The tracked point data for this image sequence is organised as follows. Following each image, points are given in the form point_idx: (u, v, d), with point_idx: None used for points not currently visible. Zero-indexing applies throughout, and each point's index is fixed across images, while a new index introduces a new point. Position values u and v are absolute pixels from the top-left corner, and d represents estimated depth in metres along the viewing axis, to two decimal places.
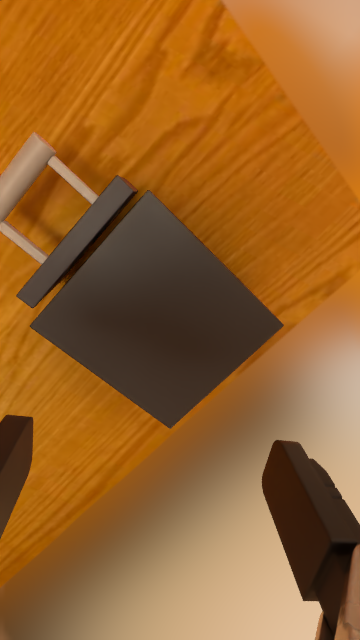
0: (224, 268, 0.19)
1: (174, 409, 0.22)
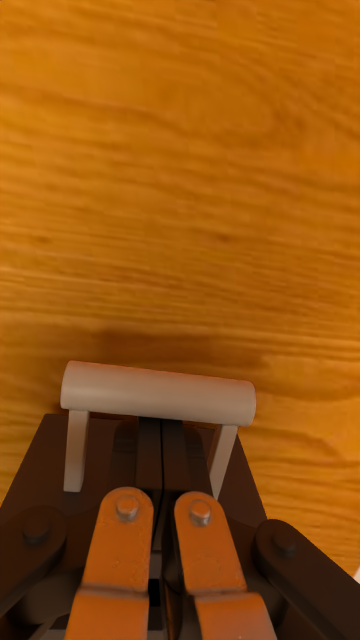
0: None
1: None
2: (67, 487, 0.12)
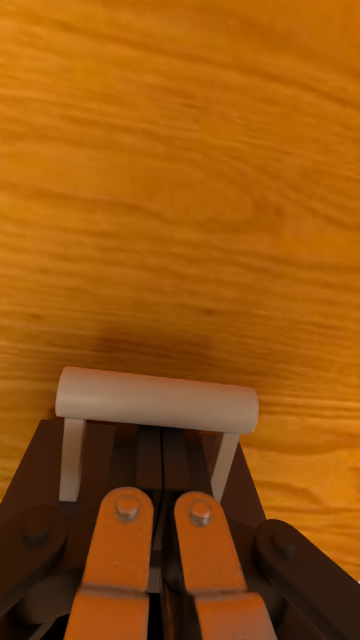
0: None
1: None
2: (63, 497, 0.11)
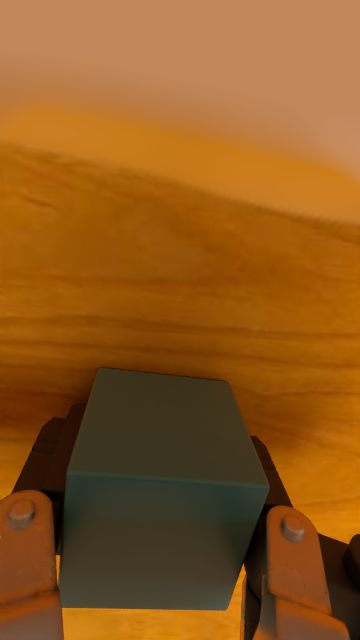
0: None
1: None
2: None
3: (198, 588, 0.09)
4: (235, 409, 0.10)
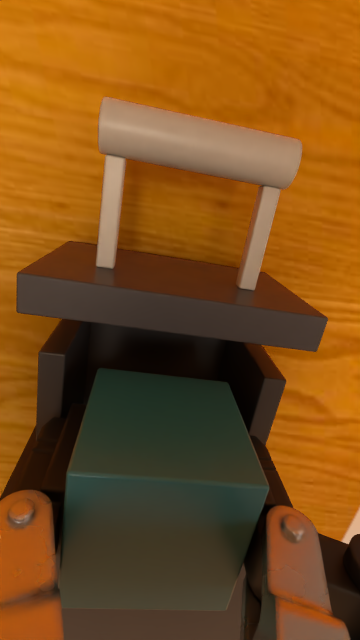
0: None
1: None
2: (100, 260, 0.11)
3: (198, 589, 0.09)
4: (235, 410, 0.10)
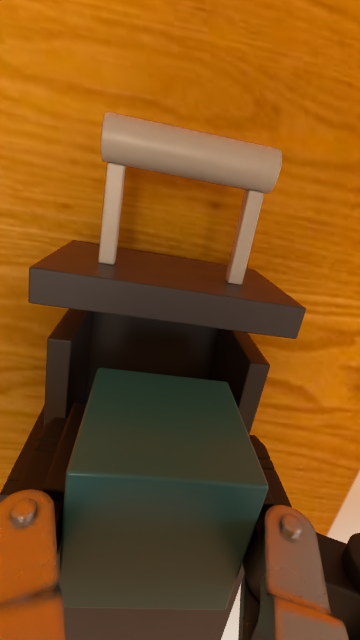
0: (231, 603, 0.16)
1: None
2: (102, 257, 0.12)
3: (197, 588, 0.09)
4: (234, 409, 0.10)
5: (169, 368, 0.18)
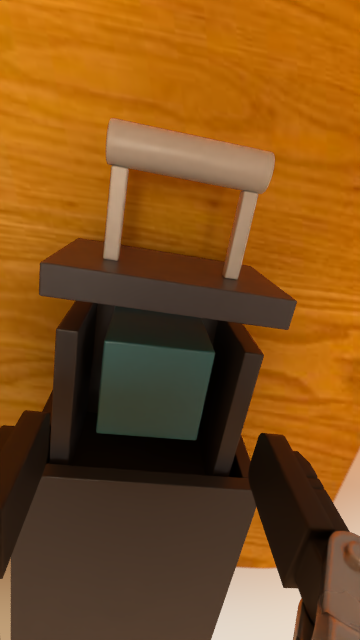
0: (228, 581, 0.17)
1: (38, 635, 0.17)
2: (106, 253, 0.13)
3: (178, 422, 0.15)
4: (202, 326, 0.16)
5: None
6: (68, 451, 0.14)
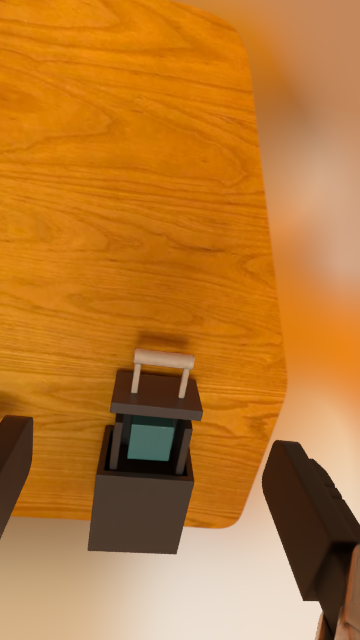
0: (183, 521, 0.38)
1: (100, 545, 0.38)
2: (132, 391, 0.35)
3: (160, 453, 0.36)
4: None
5: None
6: (116, 465, 0.36)
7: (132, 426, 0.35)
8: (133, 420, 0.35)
